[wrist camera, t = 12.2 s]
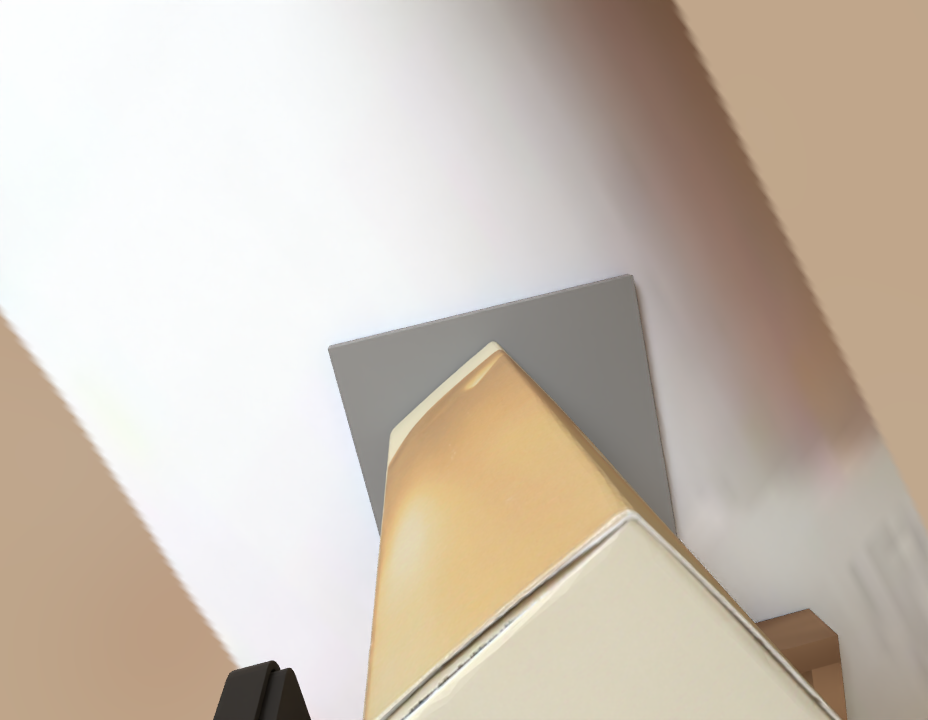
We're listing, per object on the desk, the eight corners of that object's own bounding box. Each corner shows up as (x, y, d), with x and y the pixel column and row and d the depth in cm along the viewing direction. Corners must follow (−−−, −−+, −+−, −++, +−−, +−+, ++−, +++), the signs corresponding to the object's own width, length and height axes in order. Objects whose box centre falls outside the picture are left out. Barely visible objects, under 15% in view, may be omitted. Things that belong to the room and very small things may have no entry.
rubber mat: (329, 345, 19) (327, 349, 19) (627, 274, 20) (632, 275, 19) (404, 615, 21) (404, 624, 21) (672, 544, 22) (679, 551, 21)
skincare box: (624, 477, 20) (952, 834, 8) (520, 569, 21) (693, 1043, 9) (486, 326, 19) (642, 499, 7) (376, 428, 19) (346, 759, 7)
